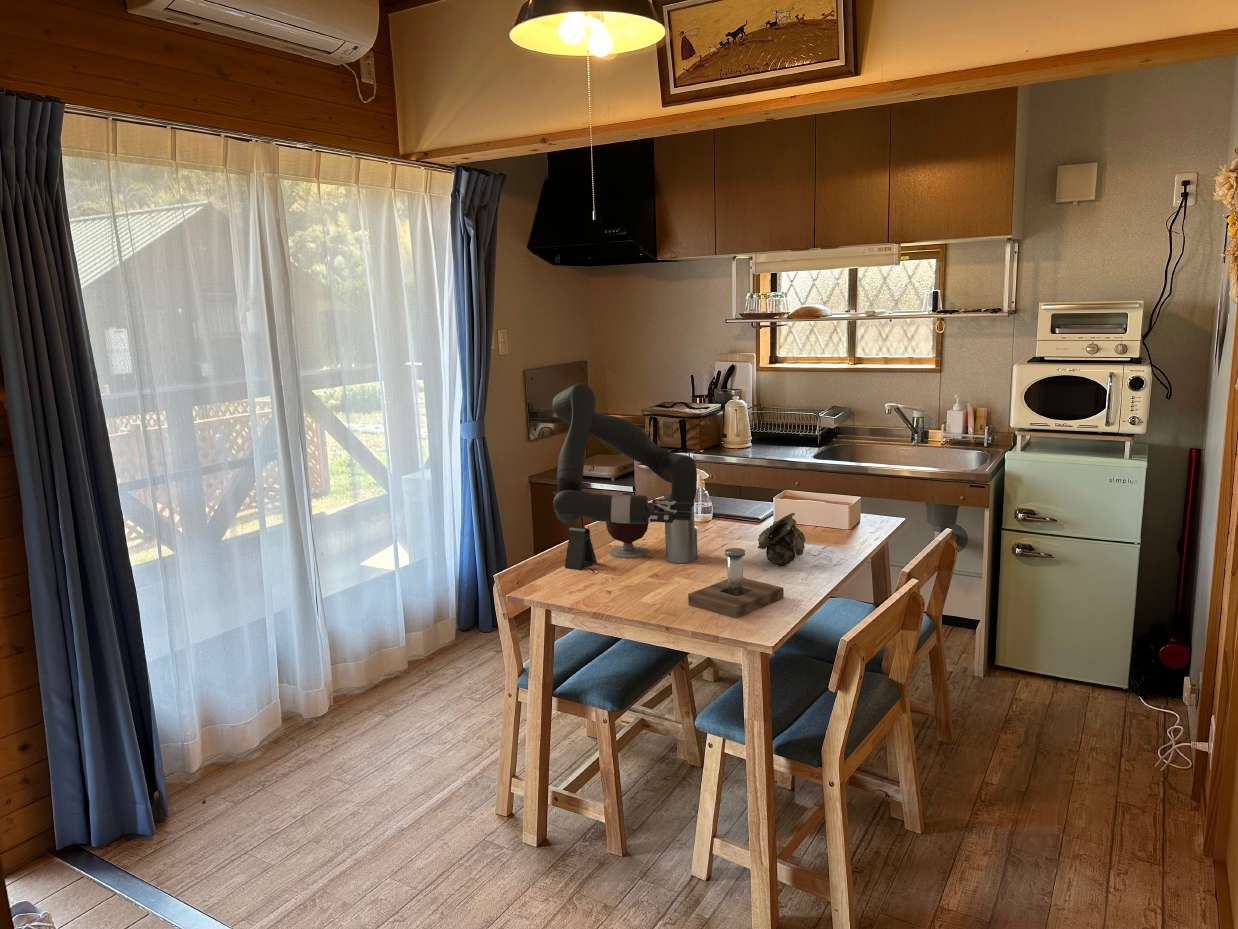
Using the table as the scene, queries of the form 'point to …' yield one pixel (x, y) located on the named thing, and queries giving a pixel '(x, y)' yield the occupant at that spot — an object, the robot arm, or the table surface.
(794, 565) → the table surface
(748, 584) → the socket plate
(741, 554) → the steel pin
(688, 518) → the robot arm
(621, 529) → the mate gourd
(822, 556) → the table surface
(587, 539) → the phone stand
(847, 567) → the table surface
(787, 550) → the camouflage backpack
